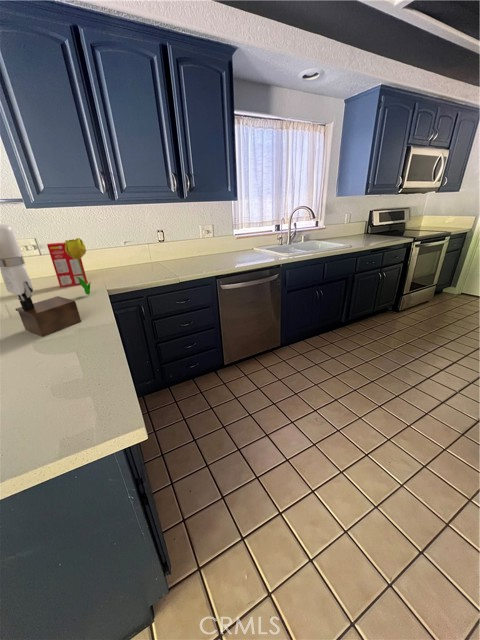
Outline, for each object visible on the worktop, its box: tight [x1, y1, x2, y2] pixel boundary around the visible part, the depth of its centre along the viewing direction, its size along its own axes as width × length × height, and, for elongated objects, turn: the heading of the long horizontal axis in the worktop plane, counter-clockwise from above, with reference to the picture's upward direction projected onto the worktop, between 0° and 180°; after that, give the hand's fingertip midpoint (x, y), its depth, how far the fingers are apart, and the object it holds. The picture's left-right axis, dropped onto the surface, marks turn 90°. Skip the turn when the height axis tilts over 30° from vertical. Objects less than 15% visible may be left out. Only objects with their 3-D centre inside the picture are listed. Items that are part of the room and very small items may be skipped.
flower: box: [64, 237, 92, 296], centre depth 139 cm, size 9×8×30 cm
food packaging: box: [46, 241, 89, 288], centre depth 159 cm, size 15×5×25 cm, turn 122°
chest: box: [17, 303, 82, 338], centre depth 108 cm, size 16×13×9 cm
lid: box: [14, 295, 77, 316], centre depth 106 cm, size 16×13×1 cm
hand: (29, 309), depth 101 cm, fingers closed
